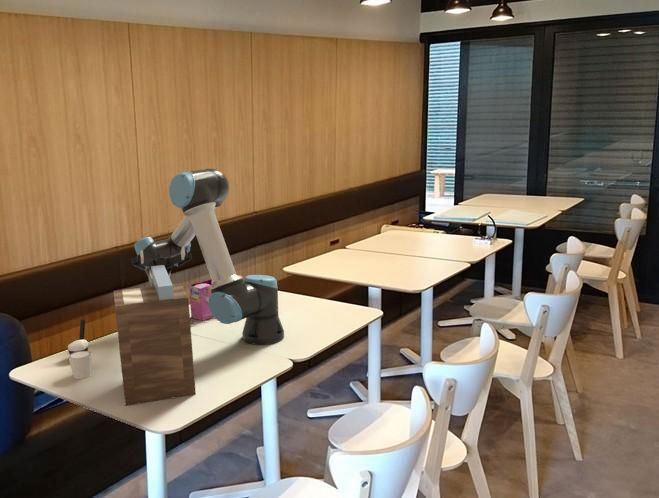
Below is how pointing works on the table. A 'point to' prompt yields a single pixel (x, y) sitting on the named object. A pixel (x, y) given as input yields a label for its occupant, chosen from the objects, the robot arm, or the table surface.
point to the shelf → (154, 344)
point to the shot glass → (81, 364)
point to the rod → (162, 282)
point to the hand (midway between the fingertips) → (163, 252)
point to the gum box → (201, 299)
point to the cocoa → (79, 341)
